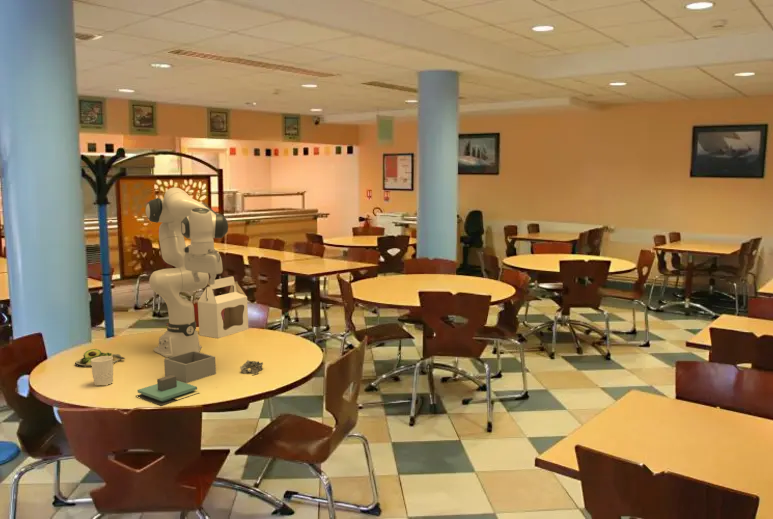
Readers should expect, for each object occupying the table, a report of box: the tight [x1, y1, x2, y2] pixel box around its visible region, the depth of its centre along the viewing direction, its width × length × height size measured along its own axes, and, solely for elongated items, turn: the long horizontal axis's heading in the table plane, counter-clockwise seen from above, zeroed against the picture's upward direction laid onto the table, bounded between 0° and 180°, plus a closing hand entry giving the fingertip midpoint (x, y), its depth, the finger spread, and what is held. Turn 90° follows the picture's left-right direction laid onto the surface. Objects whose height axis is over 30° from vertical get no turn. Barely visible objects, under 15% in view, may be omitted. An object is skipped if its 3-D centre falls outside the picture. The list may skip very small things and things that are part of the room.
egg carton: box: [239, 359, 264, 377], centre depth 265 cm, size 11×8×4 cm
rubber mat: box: [136, 392, 200, 407], centre depth 238 cm, size 16×16×1 cm
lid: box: [137, 375, 198, 402], centre depth 238 cm, size 15×15×6 cm
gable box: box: [197, 275, 249, 339], centre depth 329 cm, size 22×13×28 cm, turn 149°
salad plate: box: [74, 348, 126, 367], centre depth 281 cm, size 19×18×5 cm
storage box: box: [163, 351, 217, 384], centre depth 259 cm, size 14×14×8 cm
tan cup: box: [91, 356, 114, 386], centre depth 251 cm, size 8×8×10 cm
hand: (204, 283), depth 260 cm, fingers open, 8 cm apart
